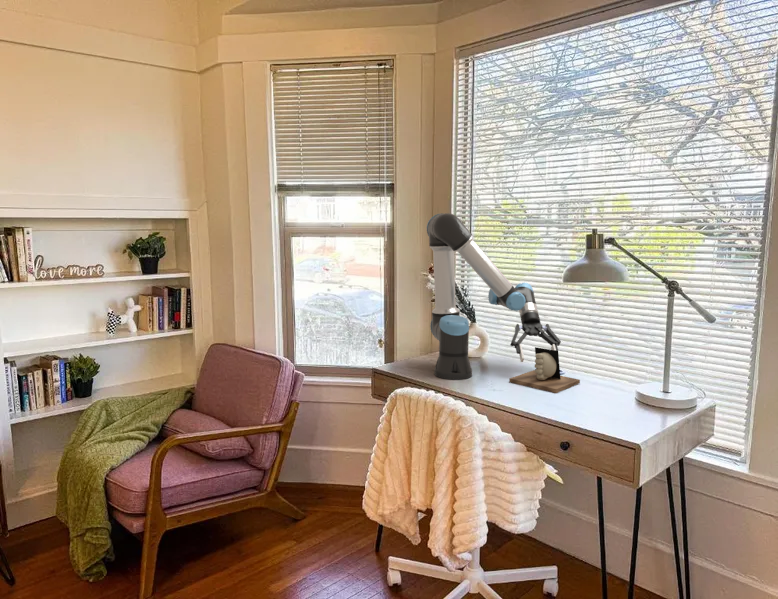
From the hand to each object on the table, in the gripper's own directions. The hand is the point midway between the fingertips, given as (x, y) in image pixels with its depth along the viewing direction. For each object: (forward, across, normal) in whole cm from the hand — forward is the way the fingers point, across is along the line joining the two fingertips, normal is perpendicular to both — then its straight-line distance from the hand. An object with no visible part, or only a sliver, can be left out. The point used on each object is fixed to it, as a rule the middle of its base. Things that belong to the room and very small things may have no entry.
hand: (539, 360), depth 230 cm
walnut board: (+10, 0, 0) cm, 10 cm away
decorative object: (+9, 0, +1) cm, 9 cm away
